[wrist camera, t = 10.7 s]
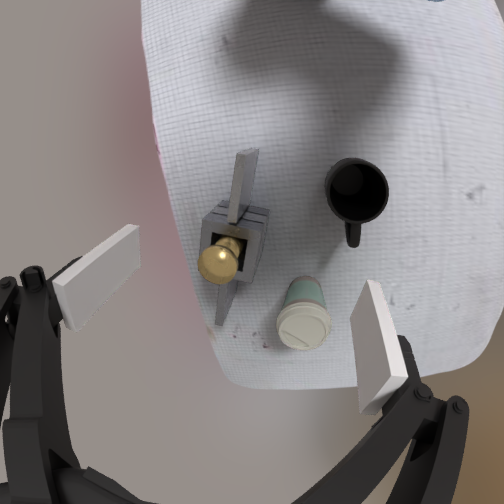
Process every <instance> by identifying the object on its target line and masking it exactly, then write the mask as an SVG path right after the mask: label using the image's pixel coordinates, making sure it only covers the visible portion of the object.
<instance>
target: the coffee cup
mask: <svg viewBox="0 0 504 504" xmlns="http://www.w3.org/2000/svg"><path fill="white" fill-rule="evenodd" d="M331 326H332V321H331V317H330V315H329V313H328V312H327V308H326V304H325V301H324V297H323V293H322V290H321V286H320V284H319V282H318V281H317V280H316V279H314V278H312V277H309V276H302V277H298V278H296V279H295V280H294V281H293V282H292V283H291V285H290V287H289V290H288V293H287V296H286V299H285V302H284V305H283V308H282V311H281V312H280V314H279V315H278V317H277V320H276V328H277V332H278V334H279V337H280V339H281V341H282V342H283V343H284V344H285V345H287V346H288V347H290V348H292V349H296V350H311V349H314V348H317V347H319V346H320V345H322V344H323V343H324V342H325V340H326V339H327V337H328V335H329V333H330V331H331Z"/></svg>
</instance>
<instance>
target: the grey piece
mask: <svg viewBox="0 0 504 504" xmlns="http://www.w3.org/2000/svg"><path fill="white" fill-rule="evenodd" d="M258 152H259V149H255V148H250V149H247V150H244V151H242V152H239V153H237V155H236V161H235V168H234V175H233V182H232V189H231V196H230V203H229V208H224V207H219V206H216V207H215V208H214V209H213V210H212V211H211V212H210V213H213V214H218V215H223V216H228V218H227V222H232V223H237V221H238V220H239V219H243V220H248V221H252V222H257V223H262V224H264V228H263V234H262V239H261V244H260V250H259V255H258V260H257V266H258V263H259V258H260V253H261V248H262V243H263V237H264V232H265V227H266V222H267V216H263V215H259V214H254V213H249V212H244V211H245V210H246V208H247V207H248V206H249V204H250V201H251V195H252V189H253V183H254V176H255V170H256V164H257V158H258ZM221 236H222V234H219V233H217V239H216V243H217V241H218V240H219V239H220V237H221ZM245 255H246V251H243V250H241V252H240V254H239V256H238V258H237V259H238V260H239V261H243V262H244V261H245ZM257 266H256V269H257Z"/></svg>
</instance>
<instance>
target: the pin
mask: <svg viewBox="0 0 504 504" xmlns="http://www.w3.org/2000/svg"><path fill="white" fill-rule="evenodd" d="M246 241H247V239H242V238H238V237H233V236H229V235H224V234H223V235H222V236H221V237H220V239H219V240H218V241H217V243H216V244H215V245H211V246H209V247H207V248H206V249H205V250H204V251H203V252H202V254H201V255H200V256H199V259H198V269H199V271H200V273H201V275H202V276H203V277H204V278H205V279H206V280H208V281H209V282H212V283H214V284H225V283H228V282H229V281H231V280H232V279H233V278H234V276H235V274H236V272H237V269H238V259H237V258H238V256H239V254H240V252H241V250H242V249H243V247H244V245H245V243H246Z"/></svg>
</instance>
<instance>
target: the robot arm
mask: <svg viewBox="0 0 504 504" xmlns="http://www.w3.org/2000/svg"><path fill="white" fill-rule="evenodd" d="M428 1H433V2H440V1H444V0H428ZM139 234H140V233H139V226H136V225H132V224H128V225H126V226H125V227H123V228H122V229H120V230H119V231H118V232H116V233H115V234H113V235H112V236H110V237H109V238H108V239H106V240H105V241H103V242H102V243H101V244H99V245H98V246H97V247H95V248H94V249H93V250H91V251H90V252H89V253H87V254H86V255H84V256H81V257H78V258H76V259H74V260H72V261H71V262H70V263H68V264H67V266H64V267H63V268H62V269H61V270H59V271H58V272H57V273H55V274H54V275H53V276H52V277H50V278H49V279H48V280H47V281H46V279H45V275H44V271H43V269H42V267H40V266H30V267H27V268H26V269H24V270H23V271H22V272H21V273H20V278H21V282H22V285H23V287H22V286H18V285H17V281H16V279H15V278H14V277H11V276H9V277H4V278H2V279H1V280H0V426H1V421H2V416H3V411H4V406H5V402H6V398H7V394H8V390H9V386H10V418H9V419H7V420H4V422H3V427H2V430H3V446H4V457H5V465H6V471H7V478H8V482H5V483H0V504H156V503H151V502H145V501H142V500H140V499H138V498H137V497H135V496H134V495H132V494H131V493H130V492H129V491H127V490H126V489H125V488H123V487H122V486H121V485H119V484H118V483H117V482H116V481H114V480H113V479H110V478H109V477H107V476H105V475H103V474H101V473H99V472H98V471H96V470H94V469H92V468H91V467H88V468H87V469H81V467H80V464H79V461H78V459H77V457H76V455H75V453H74V451H73V449H72V445H71V440H70V435H69V430H68V424H67V418H66V410H65V403H64V394H63V384H62V369H61V339H60V338H61V333H60V332H61V331H60V330H61V328H60V324H59V322H60V321H61V320H62V319H63V320H64V323H65V326H66V327H67V328H68V329H70V330H72V331H74V332H76V333H77V332H78V331H79V330H80V329H81V328H82V327H83V326H84V325H85V324H86V323H87V321H88V320H89V319H90V318H91V317H92V316H93V315H94V314H95V313H96V311H97V310H99V308H100V307H101V306H102V305H103V304H104V303H105V302H106V301H107V300H108V299H109V298H110V297H111V296H112V295H113V294H114V293H115V292H116V291H117V290H118V289H119V288H120V287H121V286H122V285H123V283H124V282H125V281H126V280H127V279H128V278H129V277H130V276H131V275H132V274H133V273H134V272H135V271H136V270H137V269H138V268H139V267H141V261H140V235H139ZM6 315H7V318H8V320H7V322H5V317H6ZM350 322H351V329H352V337H353V345H354V353H355V362H356V372H357V383H358V396H359V411H360V414H366V415H376V414H377V413H378V411H379V410H380V409H381V408H382V413H383V416H382V417H381V418H380V419H379V420H378V421H377V422H376V423H375V424H374V425H373V426H372V428H371V429H370V430H369V432H368V433H367V434H366V435H365V436H364V437H363V438H362V439H361V441H360V442H359V443H358V444H357V445H356V446H355V447H354V448H353V449H352V450H351V451H350V452H349V453H348V454H347V455H346V456H345V458H343V459H342V460H341V461H340V462H339V463H338V464H337V465H336V466H335V467H334V468H333V469H332V470H331V471H330V472H328V473H327V474H326V475H325V476H324V477H323V478H322V479H321V480H320V481H318V482H317V483H316V484H315V485H314V486H313V487H311V488H310V489H309V490H308V491H307V492H306V493H304V494H303V495H302V496H301V497H299V498H298V499H297V500H295V501H294V502H293V503H291V504H361V503H362V502H363V501H364V500H365V499H366V498H367V497H368V495H369V494H370V493H371V492H372V491H373V489H374V488H375V487H376V486H377V485H378V484H379V482H380V481H381V480H382V479H383V478H384V476H385V475H386V474H387V472H388V471H389V470H390V469H391V467H392V466H393V464H394V463H395V462H396V460H397V459H398V458H399V456H400V455H401V453H402V452H403V451H404V449H405V448H406V446H407V444H408V443H409V442H410V440H411V439H412V442H411V444H410V447H409V450H408V453H407V456H406V458H405V461H404V464H403V466H402V469H401V471H400V474H399V476H398V478H397V481H396V483H395V485H394V487H393V490H392V492H391V494H390V496H389V498H388V500H387V502H386V504H451V501H452V498H453V495H454V491H455V488H456V484H457V480H458V476H459V472H460V468H461V463H462V458H463V453H464V448H465V441H466V435H467V428H468V420H469V407H468V404H467V402H466V401H465V400H464V399H463V398H461V397H460V396H452V397H451V398H449V399H448V401H443V400H440V399H437V398H435V397H433V393H432V391H431V389H430V388H429V387H428V386H427V385H425V384H423V383H421V379H420V376H419V372H418V369H417V365H416V362H415V360H414V359H415V358H414V355H413V354H412V349H411V345H410V343H409V342H408V341H407V339H406V338H405V336H401V335H397V334H396V331H395V327H394V324H393V321H392V318H391V315H390V312H389V309H388V306H387V303H386V300H385V297H384V294H383V291H382V288H381V285H380V283H379V282H376V281H372V280H368V279H367V281H366V283H365V285H364V288H363V290H362V292H361V295H360V297H359V299H358V301H357V304H356V306H355V308H354V310H353V312H352V315H351V317H350ZM10 382H11V384H10Z"/></svg>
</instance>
